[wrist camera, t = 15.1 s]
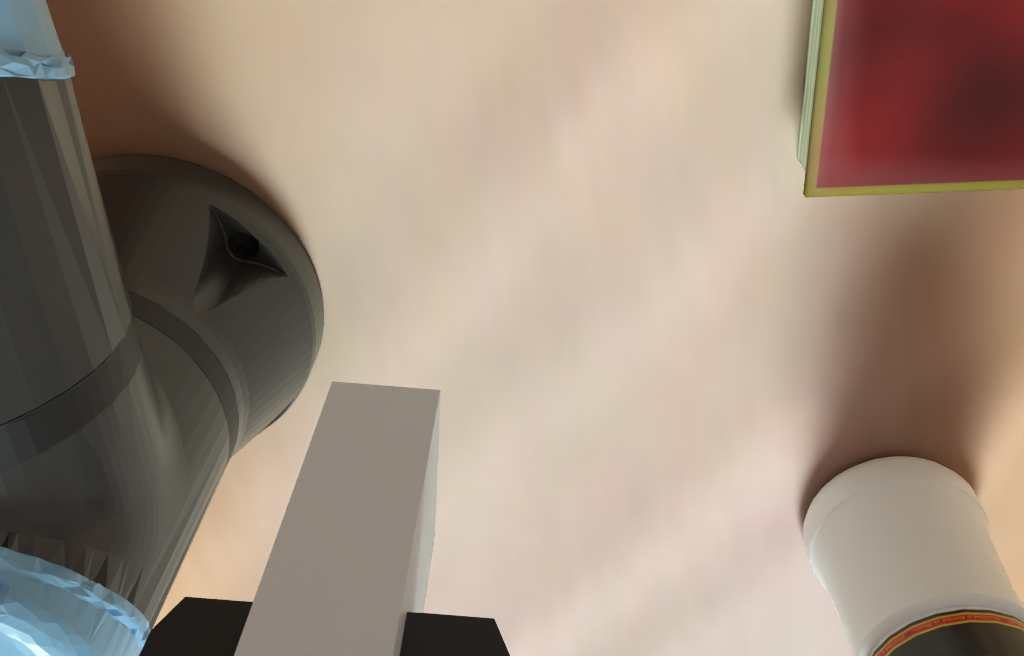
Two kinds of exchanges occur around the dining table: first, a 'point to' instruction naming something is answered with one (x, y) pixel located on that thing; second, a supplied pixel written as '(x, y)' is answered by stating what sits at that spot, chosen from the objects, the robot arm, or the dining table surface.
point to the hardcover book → (913, 97)
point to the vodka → (912, 562)
